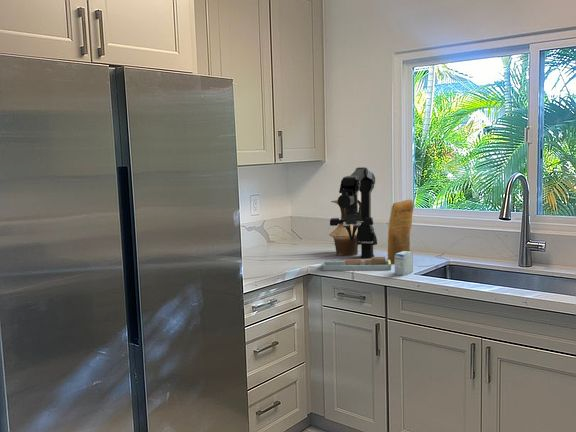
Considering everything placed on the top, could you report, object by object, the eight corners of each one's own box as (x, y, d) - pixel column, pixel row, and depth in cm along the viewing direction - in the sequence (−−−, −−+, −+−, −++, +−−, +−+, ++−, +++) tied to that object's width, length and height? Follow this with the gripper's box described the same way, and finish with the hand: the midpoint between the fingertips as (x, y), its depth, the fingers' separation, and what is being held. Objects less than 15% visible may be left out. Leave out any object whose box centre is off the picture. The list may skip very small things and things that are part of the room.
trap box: (323, 264, 264) (323, 258, 264) (389, 263, 260) (389, 258, 260) (321, 270, 251) (320, 264, 250) (391, 269, 247) (390, 264, 246)
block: (371, 266, 255) (371, 256, 255) (385, 266, 254) (384, 256, 254) (371, 269, 250) (371, 259, 250) (385, 269, 249) (385, 258, 249)
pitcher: (364, 250, 295) (363, 196, 292) (365, 257, 278) (364, 199, 275) (329, 251, 296) (328, 197, 293) (329, 257, 280) (327, 200, 277)
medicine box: (403, 271, 244) (403, 250, 243) (413, 272, 241) (413, 251, 240) (394, 274, 238) (394, 253, 237) (404, 275, 235) (403, 254, 234)
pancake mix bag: (419, 259, 268) (418, 199, 265) (393, 265, 255) (392, 202, 252) (407, 257, 273) (406, 198, 270) (381, 263, 260) (380, 202, 257)
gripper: (328, 208, 245) (329, 244, 247) (373, 206, 243) (373, 243, 245) (330, 205, 256) (331, 240, 258) (372, 204, 254) (373, 239, 256)
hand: (352, 240), depth 254 cm, fingers closed
